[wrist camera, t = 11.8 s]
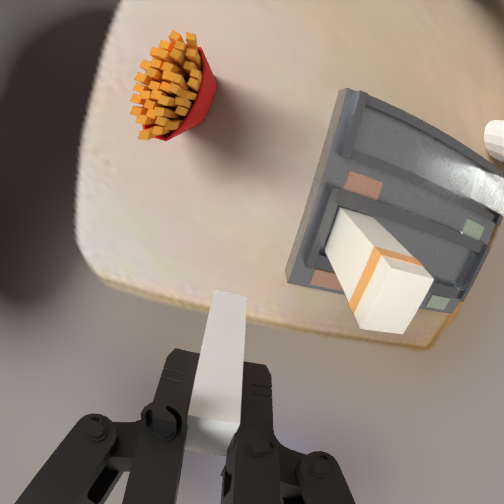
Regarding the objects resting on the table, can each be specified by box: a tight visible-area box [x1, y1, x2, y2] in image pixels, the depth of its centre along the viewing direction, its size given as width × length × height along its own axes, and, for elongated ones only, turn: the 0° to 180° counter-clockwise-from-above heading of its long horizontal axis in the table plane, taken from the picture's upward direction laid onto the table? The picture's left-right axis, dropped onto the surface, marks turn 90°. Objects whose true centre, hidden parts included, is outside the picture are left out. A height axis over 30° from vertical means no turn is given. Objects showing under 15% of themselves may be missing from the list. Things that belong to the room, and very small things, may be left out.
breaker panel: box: [285, 88, 504, 314], centre depth 25 cm, size 22×27×16 cm
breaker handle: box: [324, 207, 434, 334], centre depth 24 cm, size 5×4×13 cm
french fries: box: [130, 31, 217, 141], centre depth 21 cm, size 8×4×12 cm, turn 159°
